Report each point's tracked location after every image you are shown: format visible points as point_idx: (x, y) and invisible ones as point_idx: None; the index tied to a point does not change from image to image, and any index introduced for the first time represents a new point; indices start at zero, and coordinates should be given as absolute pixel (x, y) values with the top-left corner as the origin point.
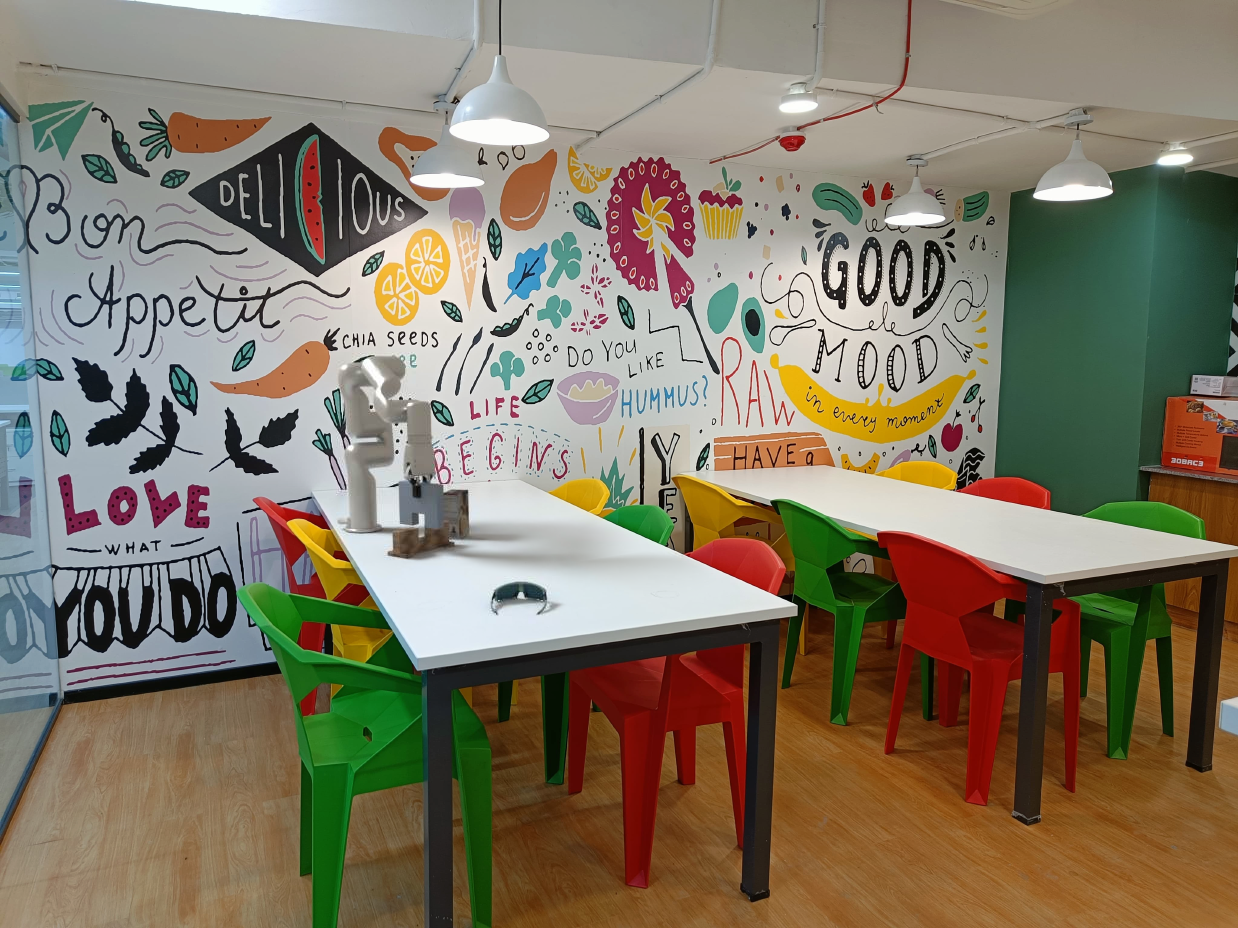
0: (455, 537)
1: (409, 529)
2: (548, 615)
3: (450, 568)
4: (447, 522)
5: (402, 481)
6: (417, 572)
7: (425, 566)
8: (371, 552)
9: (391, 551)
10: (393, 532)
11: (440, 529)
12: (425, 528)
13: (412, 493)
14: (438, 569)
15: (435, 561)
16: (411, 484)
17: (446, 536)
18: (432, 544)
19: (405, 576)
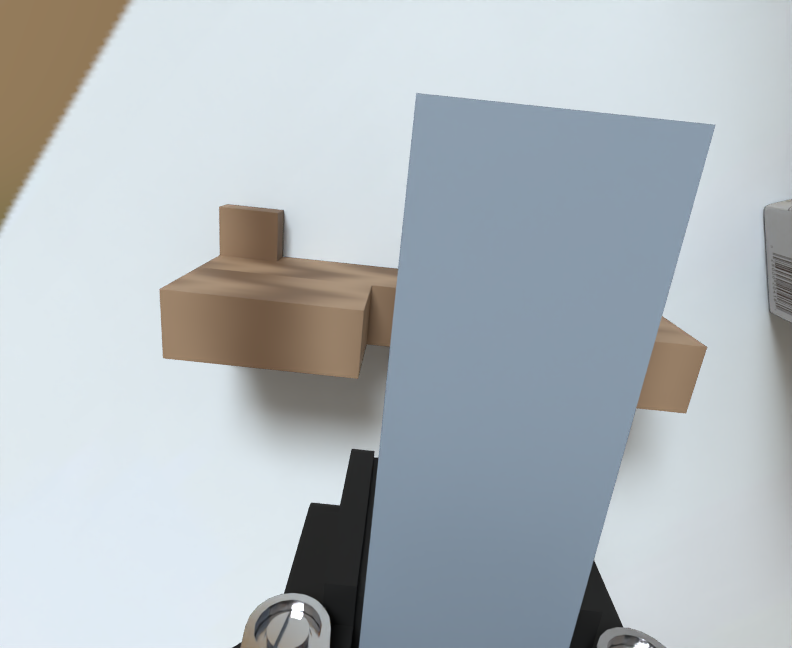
0: (774, 292)
1: (283, 354)
2: None
3: (214, 605)
4: (667, 407)
5: (457, 220)
6: (83, 539)
7: (175, 510)
8: (223, 52)
9: (234, 227)
10: (164, 297)
11: None
12: None
13: (347, 474)
14: (173, 578)
15: (270, 495)
16: (257, 627)
17: None
18: None
19: (9, 536)
